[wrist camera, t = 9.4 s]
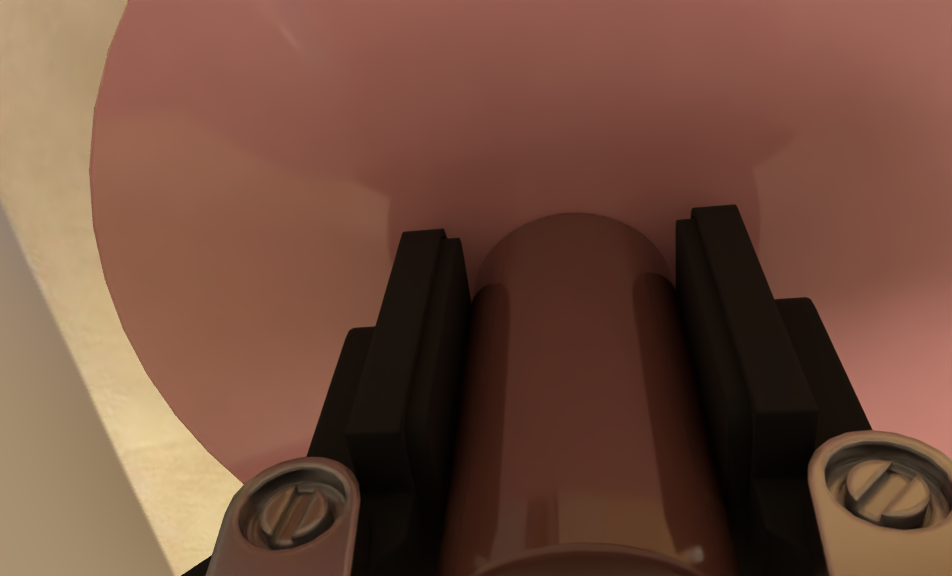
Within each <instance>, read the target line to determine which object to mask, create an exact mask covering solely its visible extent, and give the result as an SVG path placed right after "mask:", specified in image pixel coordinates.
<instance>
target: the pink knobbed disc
mask: <svg viewBox="0 0 952 576" xmlns="http://www.w3.org/2000/svg"><path fill="white" fill-rule="evenodd" d="M89 175H90V189H91V203H92V217H93V228H94V233H95V237H96V242H97V246H98V251H99V255H100V260H101V264H102V269H103V273H104V278H105V281H106V284H107V287H108V290H109V292H110V295H111V298H112V300H113V303H114V306H115V308H116V311H117V314H118V317H119V319H120V322H121V325H122V327H123V330H124V332H125V334H126V335H127V337H128V339H129V341H130V343H131V345H132V347H133V349H134V351H135V352H136V354H137V356H138V358H139V360H140V362H141V364H142V366H143V368H144V370H145V371H146V373H147V375H148V376H149V378H150V379H151V381H152V382H153V384H154V385H155V386H156V388H157V389H158V391H159V392H160V394H161V395H162V396H163V398H164V399H165V401H166V402H167V404H168V405H169V407H170V408H171V409H172V411H173V412H174V414H175V415H176V416H177V417H178V418H179V420H180V421H181V422H182V423H183V424H184V425H185V426H186V428H187V429H188V430H189V431H190V432H191V433H192V434H193V435H194V437H195V438H196V439H197V440H198V441H199V442H200V443H201V444H202V446H203V447H204V448H205V449H206V450H207V451H208V452H209V453H210V454H211V455H212V456H213V457H214V458H215V459H217V460H218V461H219V462H220V463H221V464H222V465H223V466H224V467H225V468H226V469H228V470H229V471H230V472H231V473H232V474H233V475H234V476H235V477H236V478H237V479H239V480H240V481H241V482H242V483H243V484H245V483H246V482H247V481H249V480H250V479H251V478H253V477H254V476H256V475H257V474H258V473H260V472H261V471H263V470H264V469H267V468H269V467H271V466H273V465H276V464H278V463H280V462H283V461H286V460H291V459H296V458H300V457H306V456H307V453H308V450H309V447H310V444H311V441H312V438H313V435H314V432H315V429H316V426H317V423H318V420H319V417H320V413H321V410H322V407H323V404H324V401H325V398H326V395H327V392H328V389H329V386H330V383H331V380H332V377H333V374H334V371H335V368H336V365H337V362H338V359H339V356H340V353H341V350H342V347H343V344H344V341H345V338H346V336H347V334H348V332H349V330H350V329H352V328H357V327H372V326H376V322H377V319H378V315H379V312H380V308H381V305H382V301H383V298H384V294H385V291H386V287H387V284H388V280H389V277H390V273H391V270H392V266H393V263H394V259H395V256H396V253H397V249H398V246H399V242H400V239H401V235H402V233H403V232H405V231H417V230H430V229H442V228H443V229H444V230H445V233H446V236H447V238H460V240H461V243H462V248H463V254H464V260H465V266H466V273H467V279H468V285H469V291H470V297H471V303H472V305H471V312H470V320H469V328H468V335H467V343H466V351H465V358H464V366H463V374H462V381H461V389H460V397H459V404H458V412H457V420H456V427H455V435H454V443H453V450H452V458H451V466H450V473H449V481H448V489H447V496H446V504H445V512H444V519H443V527H442V535H441V542H440V550H439V558H438V565H437V573H436V576H742V574H741V569H740V565H739V561H738V556H737V552H736V548H735V544H734V539H733V535H732V531H731V526H730V522H729V518H728V514H727V510H726V506H725V501H724V497H723V493H722V488H721V484H720V480H719V475H718V471H717V467H716V462H715V458H714V454H713V450H712V445H711V441H710V437H709V432H708V428H707V424H706V419H705V415H704V411H703V406H702V402H701V398H700V393H699V389H698V385H697V380H696V376H695V372H694V367H693V363H692V359H691V354H690V350H689V346H688V341H687V337H686V333H685V328H684V324H683V320H682V315H681V311H680V307H679V302H678V298H677V294H676V233H675V232H676V220H681V219H690V218H691V210H692V208H695V207H707V206H719V205H731V204H736V206H737V207H738V209H739V212H740V214H741V217H742V219H743V222H744V224H745V227H746V229H747V232H748V234H749V237H750V239H751V242H752V245H753V247H754V250H755V252H756V255H757V257H758V260H759V262H760V265H761V267H762V270H763V272H764V275H765V277H766V280H767V282H768V285H769V287H770V290H771V292H772V295H773V297H774V299H784V298H799V297H807V298H809V299H811V300H812V302H813V304H814V305H815V307H816V309H817V311H818V313H819V316H820V318H821V320H822V322H823V324H824V326H825V329H826V331H827V333H828V335H829V337H830V339H831V341H832V344H833V346H834V348H835V350H836V352H837V354H838V356H839V359H840V361H841V363H842V365H843V367H844V369H845V372H846V374H847V376H848V378H849V380H850V382H851V384H852V387H853V389H854V391H855V393H856V395H857V397H858V399H859V402H860V404H861V406H862V408H863V410H864V412H865V415H866V417H867V419H868V421H869V423H870V425H871V427H872V430H876V431H885V432H895V433H898V434H902V435H905V436H908V437H912V438H915V439H918V440H921V441H923V442H925V443H926V444H928V445H930V446H932V447H934V448H936V449H938V450H940V451H942V452H943V453H944V454H945V455H946V456H948V457H949V458H950V459H951V460H952V0H128V2H127V5H126V7H125V10H124V12H123V14H122V17H121V19H120V22H119V24H118V27H117V29H116V31H115V34H114V36H113V39H112V41H111V44H110V46H109V48H108V53H107V57H106V61H105V65H104V69H103V74H102V78H101V82H100V86H99V90H98V95H97V99H96V103H95V107H94V116H93V128H92V141H91V154H90V166H89Z"/></svg>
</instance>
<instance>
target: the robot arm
mask: <svg viewBox="0 0 952 576" xmlns="http://www.w3.org/2000/svg"><path fill="white" fill-rule="evenodd" d="M675 233H676V294H677V298H678V302H679V307H680V311H681V315H682V320H683V324H684V328H685V333H686V337H687V341H688V346H689V350H690V354H691V359H692V363H693V367H694V372H695V376H696V380H697V385H698V389H699V393H700V398H701V402H702V406H703V411H704V415H705V419H706V424H707V428H708V432H709V437H710V441H711V445H712V450H713V454H714V458H715V462H716V467H717V471H718V475H719V480H720V484H721V488H722V493H723V497H724V501H725V506H726V510H727V514H728V518H729V522H730V526H731V531H732V535H733V539H734V544H735V548H736V552H737V556H738V561H739V565H740V569H741V574H742V576H952V460H951V459H950V458H949V457H948V456H946V455H945V454H944V453H943V452H942V451H940V450H938V449H936V448H934V447H932V446H930V445H928V444H926V443H925V442H923V441H921V440H918V439H915V438H912V437H908V436H905V435H902V434H898V433H895V432H885V431H876V430H872V427H871V425H870V423H869V421H868V419H867V417H866V415H865V412H864V410H863V408H862V406H861V404H860V402H859V399H858V397H857V395H856V393H855V391H854V389H853V387H852V384H851V382H850V380H849V378H848V376H847V374H846V372H845V369H844V367H843V365H842V363H841V361H840V359H839V356H838V354H837V352H836V350H835V348H834V346H833V344H832V341H831V339H830V337H829V335H828V333H827V331H826V329H825V326H824V324H823V322H822V320H821V318H820V316H819V313H818V311H817V309H816V307H815V305H814V304H813V302H812V300H811V299H809V298H807V297H799V298H784V299H774V297H773V295H772V292H771V290H770V287H769V285H768V282H767V280H766V277H765V275H764V272H763V270H762V267H761V265H760V262H759V260H758V257H757V255H756V252H755V250H754V247H753V245H752V242H751V239H750V237H749V234H748V232H747V229H746V227H745V224H744V222H743V219H742V217H741V214H740V212H739V209H738V207H737V206H736V204H731V205H719V206H707V207H695V208H692V210H691V218H690V219H681V220H676V232H675ZM471 305H472V303H471V297H470V291H469V285H468V279H467V273H466V266H465V260H464V254H463V248H462V243H461V240H460V238H447V236H446V233H445V230H444V229H443V228H442V229H430V230H417V231H405V232H403V233H402V235H401V239H400V242H399V246H398V249H397V253H396V256H395V259H394V263H393V266H392V270H391V273H390V277H389V280H388V284H387V287H386V291H385V294H384V298H383V301H382V305H381V308H380V312H379V315H378V319H377V322H376V326H372V327H357V328H352V329H350V330H349V332H348V334H347V336H346V338H345V341H344V344H343V347H342V350H341V353H340V356H339V359H338V362H337V365H336V368H335V371H334V374H333V377H332V380H331V383H330V386H329V389H328V392H327V395H326V398H325V401H324V404H323V407H322V410H321V413H320V417H319V420H318V423H317V426H316V429H315V432H314V435H313V438H312V441H311V444H310V447H309V450H308V453H307V456H306V457H300V458H296V459H291V460H286V461H283V462H280V463H278V464H276V465H273V466H271V467H269V468H267V469H264V470H263V471H261V472H260V473H258V474H257V475H256V476H254V477H253V478H251V479H250V480H249V481H247V482H246V483H245V484H244V485H243V486H242V488H241V489H240V490H239V491H238V492H237V493H236V494H235V495H234V496H233V498H232V500H231V502H230V504H229V506H228V508H227V510H226V512H225V515H224V518H223V521H222V524H221V528H220V531H219V534H218V537H217V541H216V544H215V547H214V550H213V554H212V556H210V557H209V558H207V559H206V560H204V561H202V562H201V563H199V564H198V565H196V566H195V567H193V568H192V569H190V570H189V571H187V572H186V573H184V574H183V575H181V576H436V573H437V565H438V558H439V550H440V542H441V535H442V527H443V519H444V512H445V504H446V496H447V489H448V481H449V473H450V466H451V458H452V450H453V443H454V435H455V427H456V420H457V412H458V404H459V397H460V389H461V381H462V374H463V366H464V358H465V351H466V343H467V335H468V328H469V320H470V312H471Z"/></svg>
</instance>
